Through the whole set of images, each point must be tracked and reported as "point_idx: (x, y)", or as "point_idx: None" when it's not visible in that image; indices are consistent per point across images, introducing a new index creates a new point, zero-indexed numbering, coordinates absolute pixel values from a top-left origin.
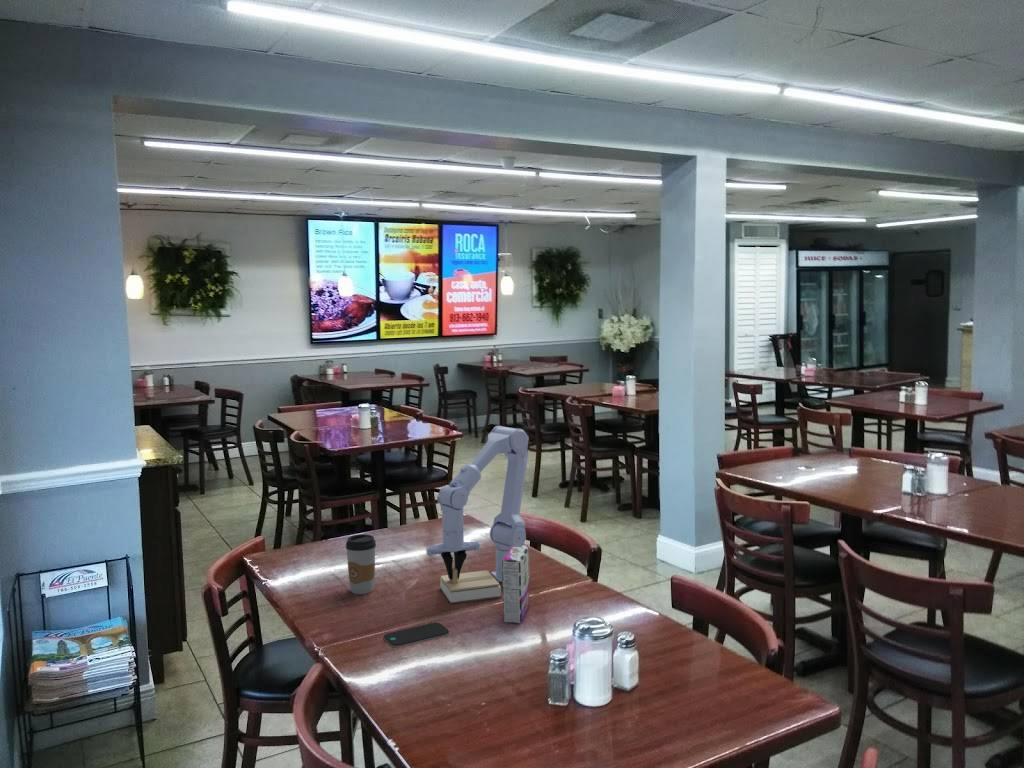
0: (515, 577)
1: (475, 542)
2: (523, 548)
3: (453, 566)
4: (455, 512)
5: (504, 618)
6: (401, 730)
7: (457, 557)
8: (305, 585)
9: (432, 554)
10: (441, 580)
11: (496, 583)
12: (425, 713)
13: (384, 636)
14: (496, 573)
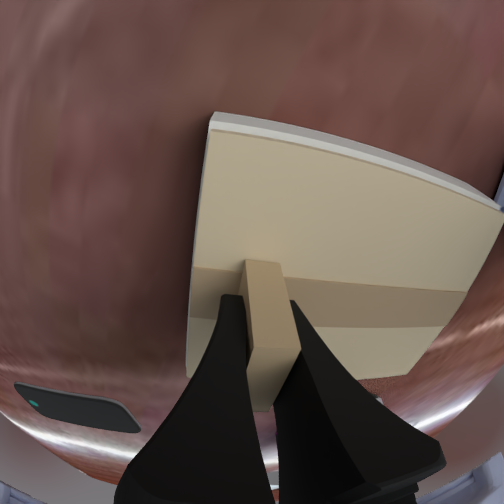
0: None
1: (501, 500)
2: None
3: (286, 357)
4: None
5: (277, 441)
6: (85, 470)
7: (288, 500)
8: None
9: (33, 499)
10: (203, 163)
11: (402, 370)
12: (102, 472)
13: (16, 390)
14: None
